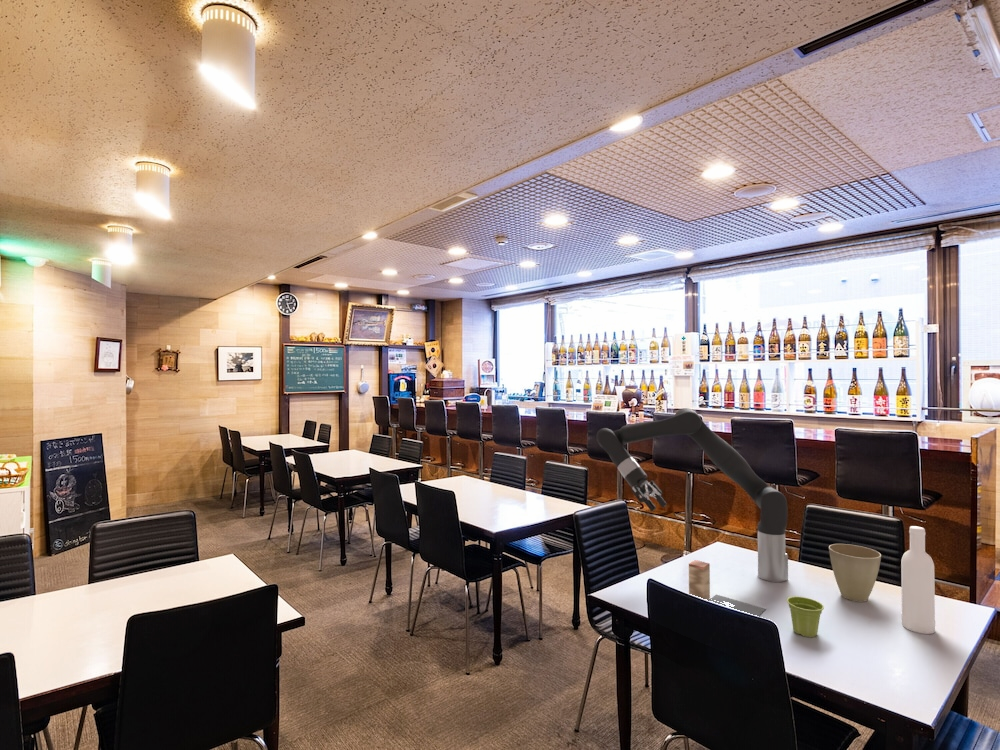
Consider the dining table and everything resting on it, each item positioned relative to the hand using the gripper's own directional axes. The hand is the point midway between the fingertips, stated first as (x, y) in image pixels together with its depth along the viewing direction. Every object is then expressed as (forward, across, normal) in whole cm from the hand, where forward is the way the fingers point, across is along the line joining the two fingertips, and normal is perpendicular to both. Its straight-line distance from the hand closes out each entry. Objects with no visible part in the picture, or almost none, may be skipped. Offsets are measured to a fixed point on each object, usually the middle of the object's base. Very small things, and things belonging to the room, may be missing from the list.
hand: (659, 507), depth 193 cm
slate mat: (+39, -4, -1) cm, 39 cm away
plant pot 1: (+54, -6, -16) cm, 56 cm away
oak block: (+31, -4, +7) cm, 32 cm away
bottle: (+70, +20, -34) cm, 80 cm away
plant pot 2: (+57, +33, -21) cm, 69 cm away
